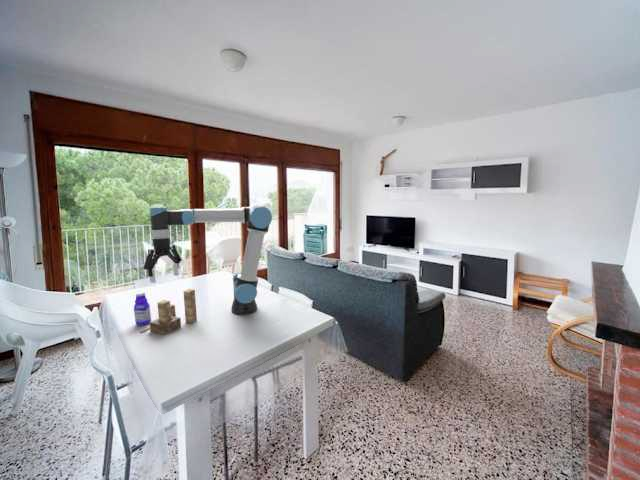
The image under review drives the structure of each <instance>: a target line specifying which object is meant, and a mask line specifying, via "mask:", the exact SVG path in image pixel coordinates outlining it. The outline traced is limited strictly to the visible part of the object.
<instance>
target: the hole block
mask: <svg viewBox="0 0 640 480" xmlns="http://www.w3.org/2000/svg"><path fill="white" fill-rule="evenodd" d="M149 327H150V332H151V333H153V334H154V333H155V334H158V335H163V336H165V335H168V334H170V333H172V332H174V331H176V330H177V329H179V328H182V322H181V317H177V316H176V317H173V316H171V320H170V321H168V322H166V323H162V322H159V318H157V319H154V320H151V321H150V323H149Z"/></svg>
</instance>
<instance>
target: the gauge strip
mask: <svg viewBox="0 0 640 480" xmlns="http://www.w3.org/2000/svg"><path fill="white" fill-rule="evenodd" d="M149 330H150V326H149V327H148V328H147V327H146V328H144V329H143V330H141V331H139V333H141V334H143V333H145V332H147V331H149Z"/></svg>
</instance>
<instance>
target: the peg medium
mask: <svg viewBox="0 0 640 480" xmlns="http://www.w3.org/2000/svg"><path fill="white" fill-rule="evenodd" d="M170 304H171V301H170V300H166V299H163V300H161V301H158V302H157V312H158V319H159V322H162V323H166V322H168V321H170V320H171V309H170Z"/></svg>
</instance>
